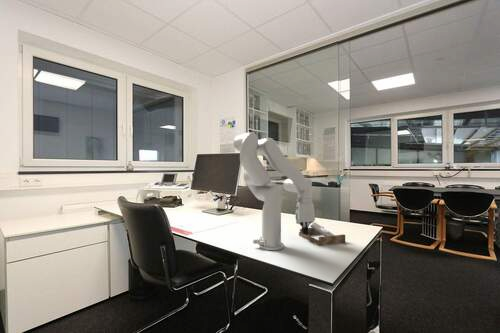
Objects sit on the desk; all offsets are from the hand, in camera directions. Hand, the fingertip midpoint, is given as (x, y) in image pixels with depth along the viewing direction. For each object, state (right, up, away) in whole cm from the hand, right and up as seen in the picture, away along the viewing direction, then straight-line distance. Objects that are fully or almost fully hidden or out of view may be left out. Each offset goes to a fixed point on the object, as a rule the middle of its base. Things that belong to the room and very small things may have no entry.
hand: (304, 233), depth 126 cm
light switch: (+12, -4, +4) cm, 13 cm away
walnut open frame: (+10, -4, +4) cm, 11 cm away
